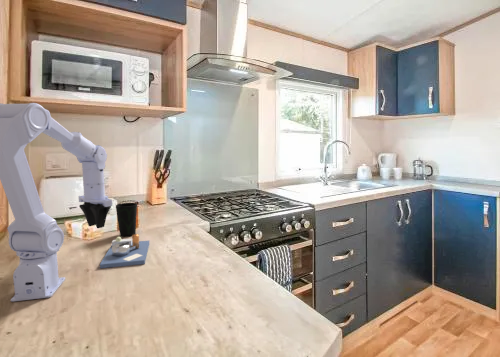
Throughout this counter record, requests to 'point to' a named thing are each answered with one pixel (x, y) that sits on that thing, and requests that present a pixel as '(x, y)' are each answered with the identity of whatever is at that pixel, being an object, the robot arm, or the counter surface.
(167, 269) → the counter surface
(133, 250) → the plate
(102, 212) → the robot arm
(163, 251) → the counter surface
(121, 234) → the cup
